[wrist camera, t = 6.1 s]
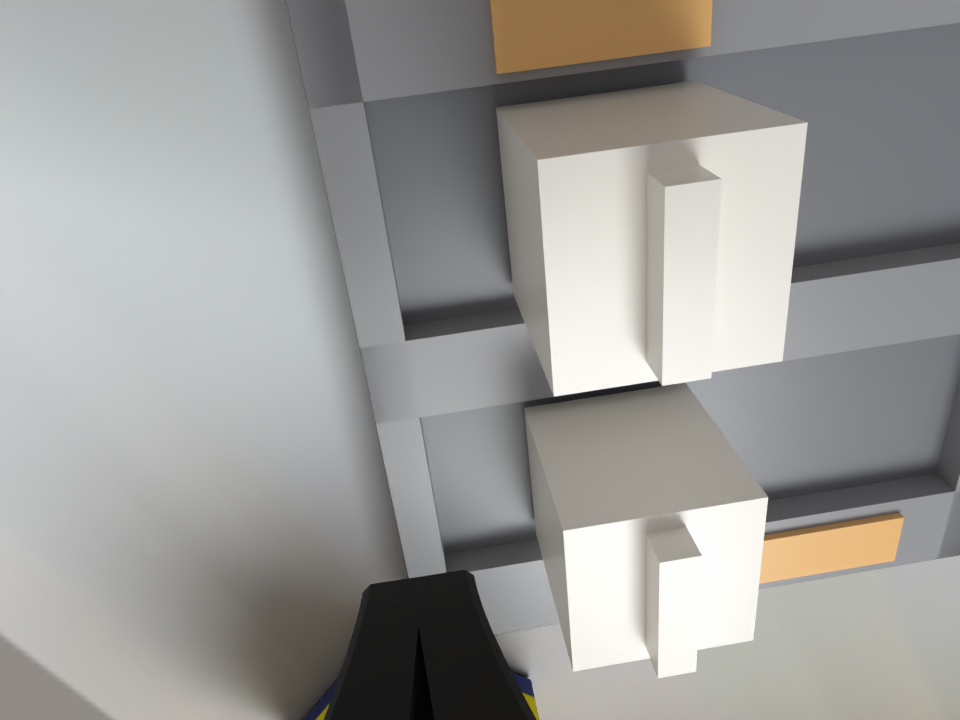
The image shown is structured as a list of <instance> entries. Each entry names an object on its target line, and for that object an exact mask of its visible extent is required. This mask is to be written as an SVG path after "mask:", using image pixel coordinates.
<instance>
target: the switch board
mask: <svg viewBox="0 0 960 720" xmlns="http://www.w3.org/2000/svg"><path fill="white" fill-rule="evenodd" d="M286 4H287V9H288V13H289V18H290V23H291V27H292V32H293V37H294V41H295V46H296V51H297V56H298V60H299V65H300V70H301V74H302V79H303V84H304V88H305V93H306V98H307V103H308V107H309V112H310V117H311V121H312V126H313V131H314V135H315V140H316V145H317V150H318V154H319V159H320V164H321V168H322V173H323V178H324V182H325V187H326V192H327V197H328V201H329V206H330V211H331V215H332V220H333V225H334V229H335V234H336V239H337V244H338V248H339V253H340V258H341V262H342V267H343V272H344V276H345V281H346V286H347V291H348V295H349V300H350V305H351V309H352V314H353V319H354V323H355V328H356V333H357V338H358V342H359V347H360V352H361V356H362V361H363V366H364V370H365V375H366V380H367V385H368V389H369V394H370V399H371V403H372V408H373V413H374V417H375V422H376V427H377V432H378V436H379V441H380V446H381V450H382V455H383V460H384V464H385V469H386V474H387V479H388V483H389V488H390V493H391V497H392V502H393V507H394V511H395V516H396V521H397V526H398V530H399V535H400V540H401V544H402V549H403V554H404V558H405V563H406V568H407V573H408V577H409V578H415V577H421V576H427V575H434V574H440V573H446V572H453V571H459V570H466V571H468V572H470V573H471V574H473V575H474V577H475V582H476V586H477V590H478V593H479V596H480V600H481V603H482V606H483V608H484V611H485V614H486V617H487V619H488V621H489V624H490V626H491V629H492V631H493V634H500V633H506V632H512V631H518V630H524V629H530V628H536V627H541V626H547V625H553V624H559V623H560V621H559V618H558V614H557V610H556V606H555V603H554V599H553V595H552V591H551V588H550V584H549V580H548V577H547V573H546V569H545V565H544V562H543V558H542V554H541V551H540V547H539V543H538V539H537V536H536V530H535V519H534V508H533V498H532V487H531V476H530V466H529V455H528V444H527V434H526V423H525V412H524V408H526V407H532V406H539V405H545V404H552V403H558V402H565V401H571V400H578V399H584V398H590V397H597V396H603V395H610V394H616V393H623V392H629V391H635V390H642V389H648V388H655V387H661V386H662V385H661V383H660V382H659V380H658V381H652V382H645V383H639V384H632V385H626V386H619V387H613V388H607V389H600V390H594V391H587V392H581V393H574V394H568V395H561V396H555V397H554V396H553V393H552V391H551V388H550V386H549V383H548V381H547V378H546V376H545V373H544V370H543V368H542V365H541V363H540V360H539V358H538V355H537V353H536V350H535V348H534V345H533V343H532V340H531V338H530V335H529V332H528V330H527V327H526V325H525V322H524V320H523V317H522V315H521V312H520V310H519V307H518V305H517V302H516V300H515V297H514V294H513V284H512V274H511V263H510V252H509V242H508V231H507V220H506V210H505V199H504V188H503V178H502V167H501V156H500V146H499V135H498V124H497V114H496V107H503V106H510V105H518V104H525V103H533V102H540V101H547V100H555V99H562V98H570V97H577V96H585V95H592V94H599V93H607V92H614V91H622V90H629V89H637V88H644V87H652V86H659V85H666V84H674V83H681V82H689V81H698V82H700V83H703V84H706V85H708V86H711V87H714V88H716V89H719V90H722V91H724V92H727V93H730V94H733V95H735V96H738V97H741V98H743V99H746V100H749V101H751V102H754V103H757V104H759V105H762V106H765V107H767V108H770V109H773V110H775V111H778V112H781V113H784V114H786V115H789V116H792V117H794V118H797V119H800V120H802V121H805V122H808V125H807V134H806V144H805V153H804V163H803V172H802V182H801V191H800V201H799V210H798V220H797V229H796V239H795V248H794V258H793V267H792V277H791V286H790V296H789V305H788V315H787V324H786V334H785V343H784V353H783V361H781V362H774V363H768V364H761V365H755V366H749V367H742V368H736V369H729V370H723V371H716V372H712V375H711V378H710V379H704V380H697V381H691V382H684V383H686V384H687V386H688V387H689V388H690V390H691V391H692V392H693V394H694V395H695V397H696V398H697V399H698V401H699V402H700V403H701V405H702V406H703V408H704V409H705V410H706V412H707V413H708V415H709V416H710V417H711V419H712V420H713V421H714V423H715V424H716V426H717V427H718V428H719V430H720V431H721V433H722V434H723V435H724V437H725V438H726V439H727V441H728V442H729V444H730V445H731V446H732V448H733V449H734V451H735V452H736V453H737V455H738V456H739V457H740V459H741V460H742V462H743V463H744V464H745V466H746V467H747V469H748V470H749V471H750V473H751V474H752V475H753V477H754V478H755V480H756V481H757V482H758V484H759V485H760V487H761V488H762V489H763V491H764V492H765V493H766V495H767V496H768V504H767V514H766V523H765V533H764V542H763V552H762V561H761V571H760V580H759V589H764V588H770V587H776V586H782V585H788V584H793V583H799V582H805V581H811V580H817V579H823V578H829V577H834V576H840V575H846V574H852V573H858V572H864V571H870V570H876V569H881V568H887V567H893V566H899V565H905V564H911V563H917V562H922V561H928V560H934V559H940V558H946V557H952V556H958V555H960V0H286ZM678 384H680V383H678ZM671 385H674V384H671ZM665 386H668V385H665Z"/></svg>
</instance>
